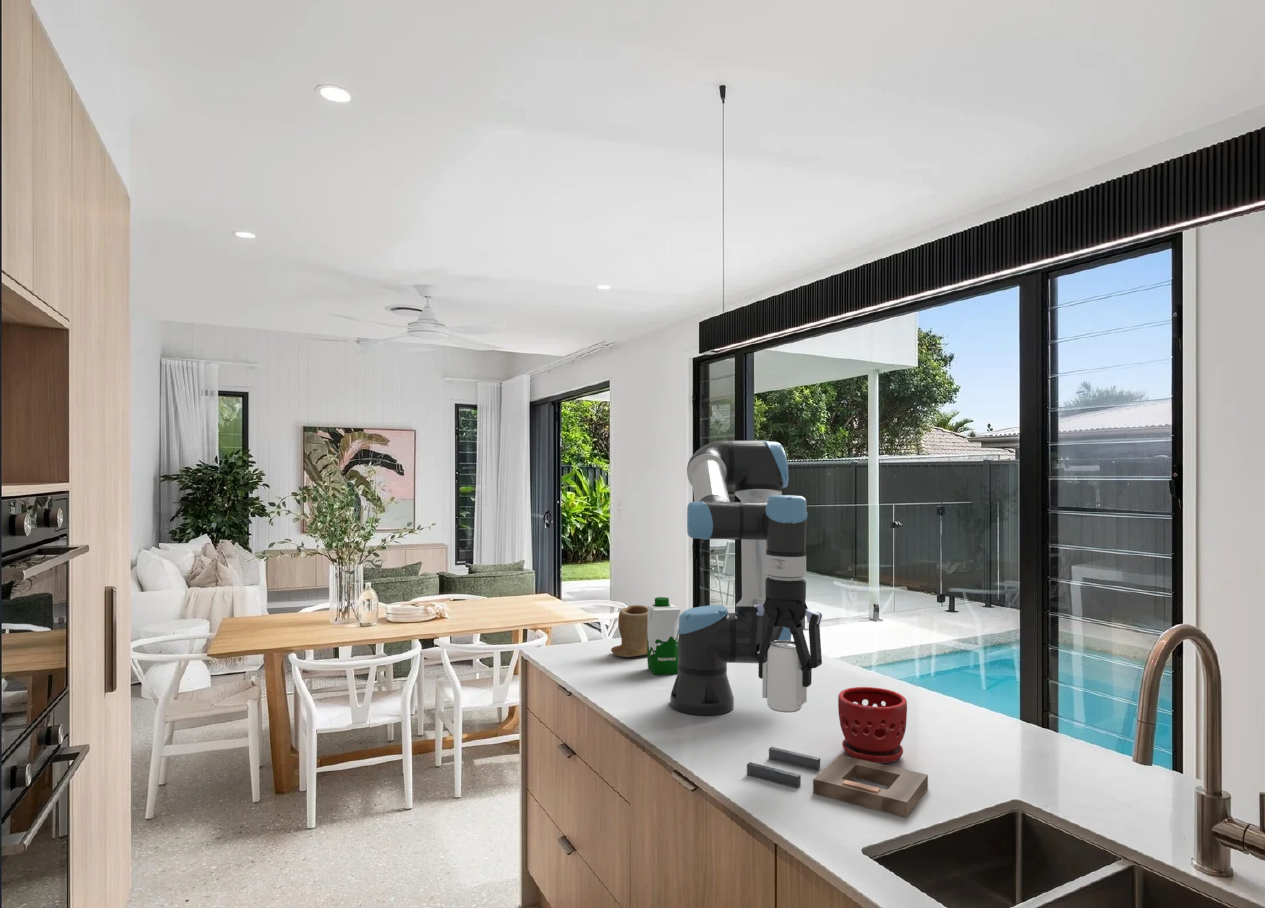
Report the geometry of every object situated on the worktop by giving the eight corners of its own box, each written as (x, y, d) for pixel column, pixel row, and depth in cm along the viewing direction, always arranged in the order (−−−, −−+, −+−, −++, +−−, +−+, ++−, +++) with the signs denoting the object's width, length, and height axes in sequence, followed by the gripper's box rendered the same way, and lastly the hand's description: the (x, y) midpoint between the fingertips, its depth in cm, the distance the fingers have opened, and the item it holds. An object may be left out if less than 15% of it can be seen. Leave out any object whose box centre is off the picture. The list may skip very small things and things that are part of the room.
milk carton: (673, 666, 219) (674, 596, 220) (683, 674, 211) (683, 601, 211) (644, 667, 217) (644, 597, 218) (652, 676, 209) (653, 602, 209)
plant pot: (831, 743, 159) (831, 685, 159) (894, 744, 159) (895, 686, 159) (846, 767, 146) (847, 704, 146) (916, 769, 146) (916, 706, 146)
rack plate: (813, 793, 134) (813, 777, 134) (840, 767, 146) (840, 753, 146) (906, 817, 125) (907, 800, 125) (927, 788, 137) (927, 772, 137)
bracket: (746, 774, 142) (746, 763, 142) (771, 756, 151) (771, 746, 151) (798, 788, 136) (798, 776, 136) (820, 768, 145) (820, 757, 145)
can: (802, 714, 140) (803, 648, 140) (766, 711, 142) (767, 646, 142) (801, 703, 147) (802, 640, 147) (767, 700, 148) (768, 638, 148)
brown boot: (625, 662, 223) (626, 611, 223) (606, 653, 233) (607, 604, 234) (669, 656, 231) (669, 607, 231) (648, 648, 241) (649, 600, 241)
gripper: (730, 574, 147) (729, 695, 147) (828, 585, 136) (826, 715, 136) (747, 570, 153) (746, 685, 153) (842, 579, 142) (840, 704, 142)
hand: (784, 699), depth 144 cm, fingers closed on can, 6 cm apart
